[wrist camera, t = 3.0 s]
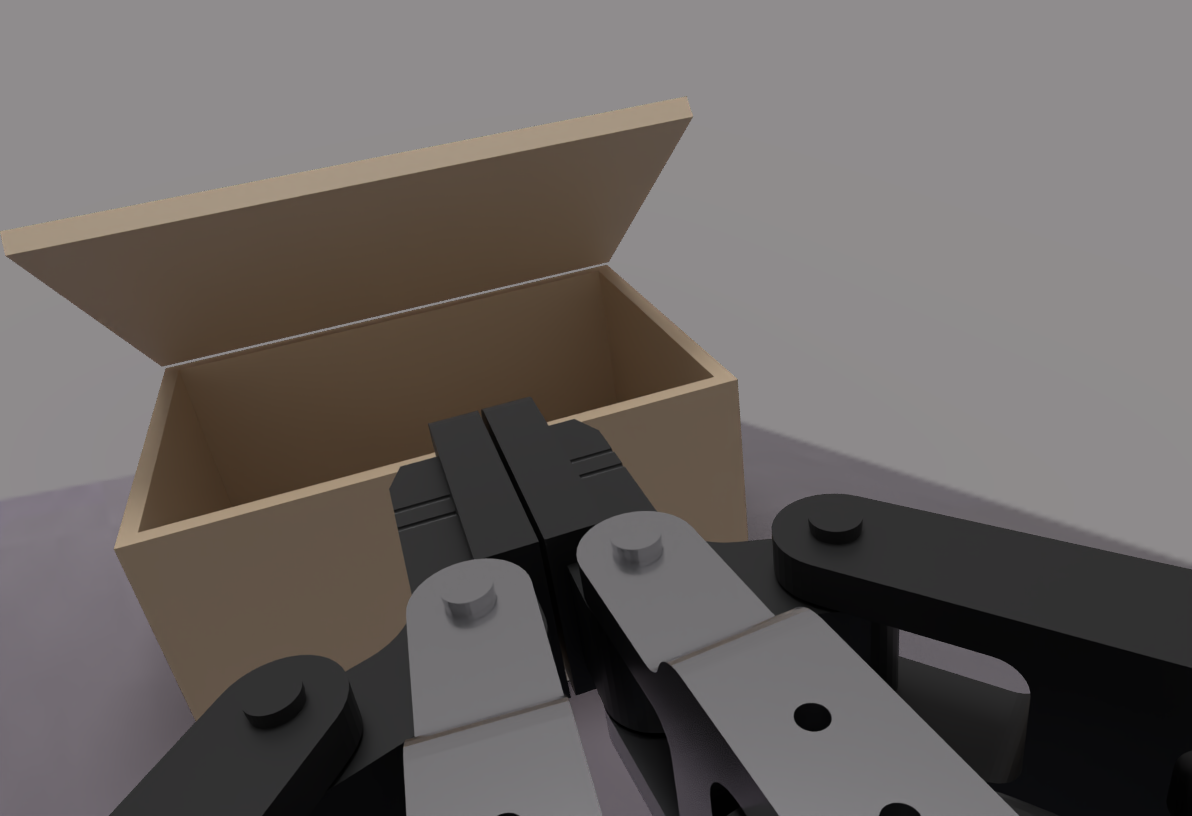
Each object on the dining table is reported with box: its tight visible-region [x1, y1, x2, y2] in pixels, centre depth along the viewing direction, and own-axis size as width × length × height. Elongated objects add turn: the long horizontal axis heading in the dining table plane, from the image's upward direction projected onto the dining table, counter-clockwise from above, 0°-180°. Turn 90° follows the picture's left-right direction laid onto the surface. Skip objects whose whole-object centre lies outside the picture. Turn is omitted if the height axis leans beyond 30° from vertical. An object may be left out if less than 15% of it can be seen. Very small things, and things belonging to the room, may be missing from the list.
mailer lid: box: [0, 96, 693, 366], centre depth 28 cm, size 17×12×1 cm
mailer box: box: [114, 265, 748, 721], centre depth 31 cm, size 17×12×9 cm
